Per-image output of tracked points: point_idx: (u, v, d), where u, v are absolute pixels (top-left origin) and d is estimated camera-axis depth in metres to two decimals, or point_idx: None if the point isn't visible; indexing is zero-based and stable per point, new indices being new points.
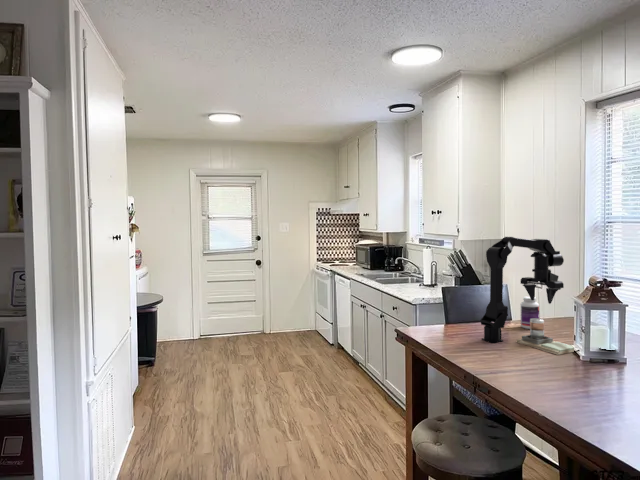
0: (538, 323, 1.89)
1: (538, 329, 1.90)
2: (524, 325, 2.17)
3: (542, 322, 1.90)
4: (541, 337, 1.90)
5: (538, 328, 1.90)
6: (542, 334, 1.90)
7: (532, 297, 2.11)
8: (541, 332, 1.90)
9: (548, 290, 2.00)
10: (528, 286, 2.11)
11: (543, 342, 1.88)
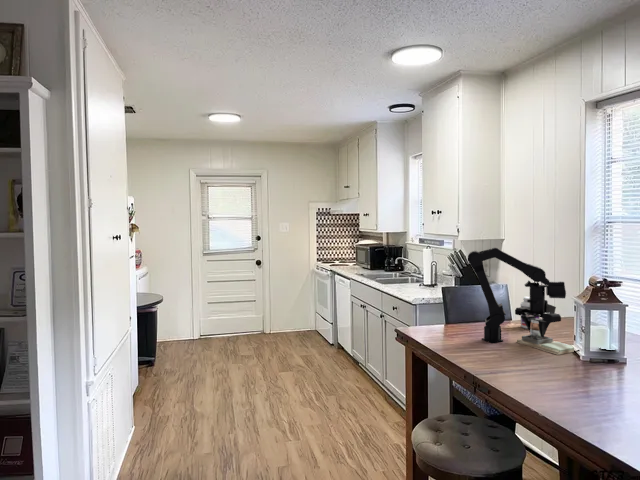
0: (538, 323, 1.89)
1: (538, 329, 1.90)
2: (524, 325, 2.17)
3: None
4: (541, 337, 1.90)
5: (538, 328, 1.90)
6: None
7: None
8: None
9: (540, 323, 1.87)
10: (526, 318, 1.94)
11: (543, 342, 1.88)
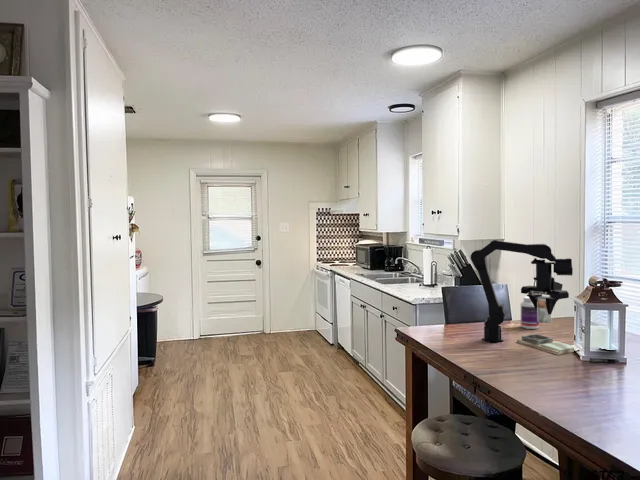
0: (545, 300, 1.86)
1: (545, 307, 1.86)
2: (524, 325, 2.17)
3: None
4: (548, 315, 1.86)
5: (545, 305, 1.86)
6: None
7: None
8: None
9: (548, 300, 1.83)
10: (533, 296, 1.91)
11: (543, 342, 1.88)
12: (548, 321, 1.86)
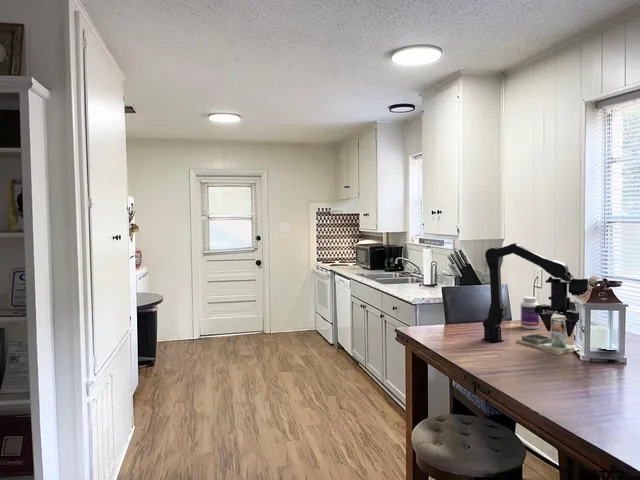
0: (561, 324, 1.80)
1: (560, 330, 1.80)
2: (524, 325, 2.17)
3: (564, 323, 1.80)
4: (563, 339, 1.80)
5: (560, 329, 1.80)
6: (564, 336, 1.80)
7: (548, 328, 1.86)
8: (563, 334, 1.80)
9: (567, 322, 1.75)
10: (544, 315, 1.86)
11: (543, 342, 1.88)
12: (563, 345, 1.80)
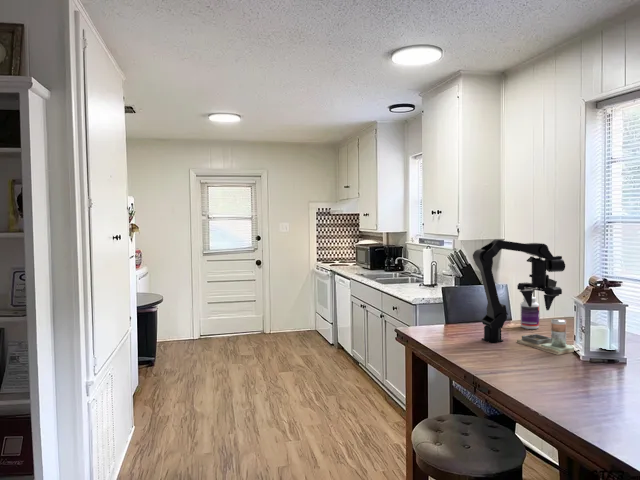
0: (560, 324, 1.80)
1: (560, 330, 1.80)
2: (524, 325, 2.17)
3: (564, 323, 1.80)
4: (563, 339, 1.80)
5: (560, 329, 1.80)
6: (564, 336, 1.80)
7: (529, 303, 2.03)
8: (563, 334, 1.80)
9: (546, 296, 1.92)
10: (525, 292, 2.03)
11: (543, 342, 1.88)
12: (563, 345, 1.80)
